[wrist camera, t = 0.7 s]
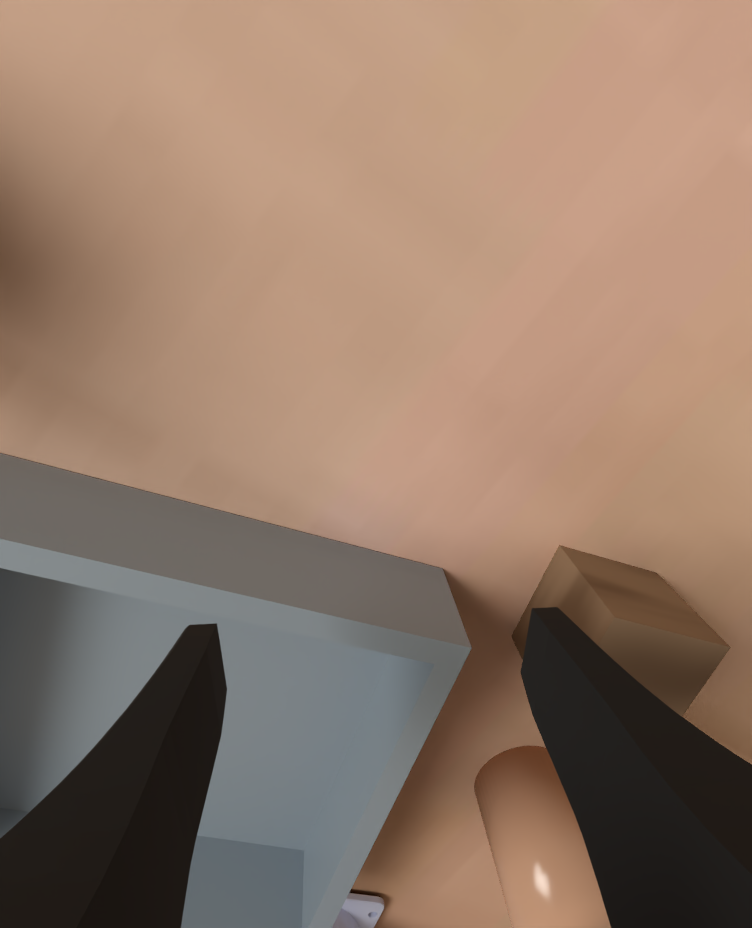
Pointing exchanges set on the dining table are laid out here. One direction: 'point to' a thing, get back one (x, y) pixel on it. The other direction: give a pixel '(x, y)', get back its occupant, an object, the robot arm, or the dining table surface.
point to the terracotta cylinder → (537, 843)
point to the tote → (246, 672)
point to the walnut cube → (631, 623)
